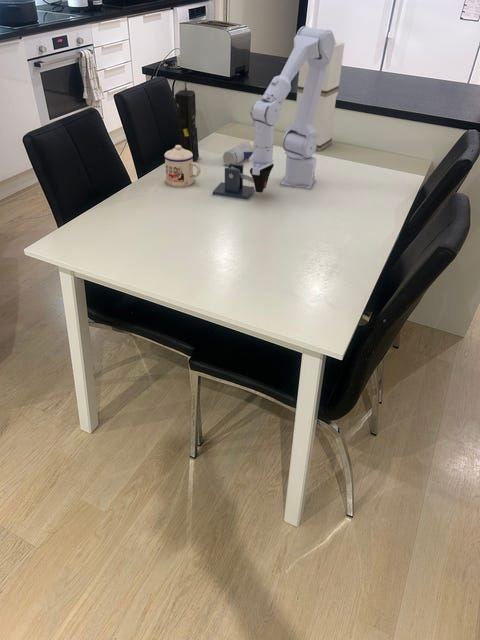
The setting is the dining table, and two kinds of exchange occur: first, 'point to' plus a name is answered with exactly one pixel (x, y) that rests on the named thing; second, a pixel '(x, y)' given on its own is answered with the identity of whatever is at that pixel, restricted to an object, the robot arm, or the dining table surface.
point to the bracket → (233, 184)
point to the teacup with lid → (180, 167)
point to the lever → (246, 176)
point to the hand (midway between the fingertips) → (260, 189)
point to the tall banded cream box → (324, 96)
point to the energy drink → (238, 154)
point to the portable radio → (187, 121)
